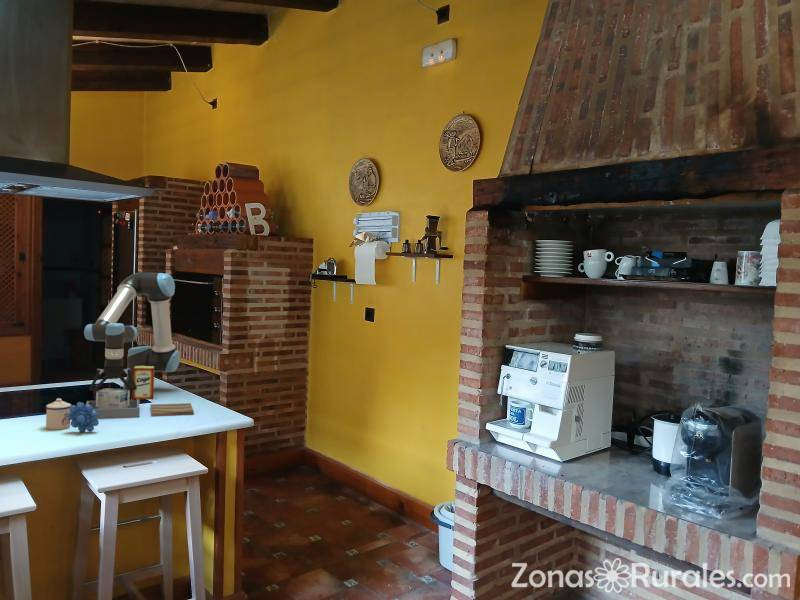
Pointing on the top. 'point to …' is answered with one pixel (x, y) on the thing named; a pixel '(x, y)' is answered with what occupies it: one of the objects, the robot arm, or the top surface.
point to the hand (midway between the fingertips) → (112, 405)
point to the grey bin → (117, 410)
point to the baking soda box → (143, 382)
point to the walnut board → (171, 409)
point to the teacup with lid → (57, 415)
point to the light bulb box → (112, 398)
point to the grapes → (83, 417)
